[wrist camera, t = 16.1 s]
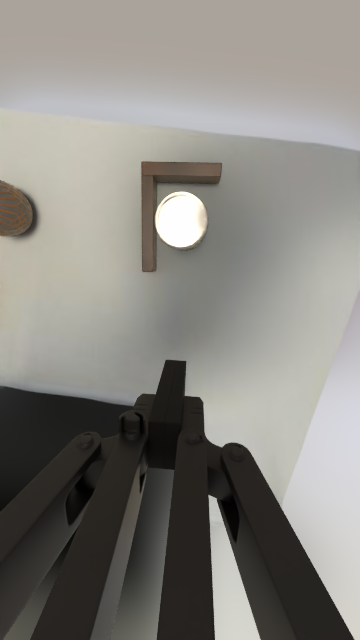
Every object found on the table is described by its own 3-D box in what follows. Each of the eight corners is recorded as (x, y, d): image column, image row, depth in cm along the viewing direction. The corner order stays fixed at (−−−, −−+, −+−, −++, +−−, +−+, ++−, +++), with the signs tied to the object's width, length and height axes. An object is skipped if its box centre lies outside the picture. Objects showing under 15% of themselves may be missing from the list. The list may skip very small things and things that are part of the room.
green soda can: (199, 253, 35) (202, 253, 23) (163, 246, 35) (149, 243, 23) (207, 215, 33) (214, 194, 22) (170, 207, 33) (157, 183, 22)
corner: (219, 171, 32) (222, 162, 29) (212, 272, 36) (213, 274, 33) (146, 169, 32) (141, 161, 29) (146, 270, 36) (142, 271, 33)
